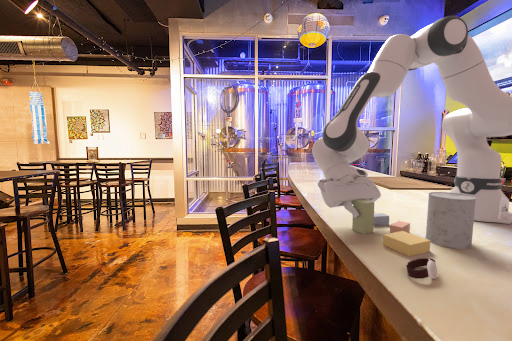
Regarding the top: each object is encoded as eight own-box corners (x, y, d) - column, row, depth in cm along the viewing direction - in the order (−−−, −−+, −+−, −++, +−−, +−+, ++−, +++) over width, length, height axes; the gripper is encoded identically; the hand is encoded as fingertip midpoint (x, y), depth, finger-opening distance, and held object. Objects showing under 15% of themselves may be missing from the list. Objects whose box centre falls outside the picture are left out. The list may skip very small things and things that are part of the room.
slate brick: (382, 222, 79) (382, 213, 79) (388, 224, 76) (389, 215, 76) (366, 223, 78) (366, 214, 78) (372, 226, 75) (372, 216, 75)
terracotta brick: (398, 230, 71) (398, 220, 71) (409, 233, 69) (410, 223, 68) (389, 235, 67) (390, 224, 67) (401, 238, 65) (401, 227, 65)
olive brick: (361, 227, 73) (363, 199, 72) (373, 232, 69) (374, 201, 68) (352, 229, 71) (353, 200, 70) (363, 234, 67) (364, 203, 67)
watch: (428, 286, 42) (429, 267, 42) (399, 275, 46) (400, 257, 46) (442, 273, 47) (443, 255, 47) (415, 263, 51) (416, 247, 50)
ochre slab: (402, 241, 63) (402, 230, 63) (429, 252, 56) (430, 240, 56) (382, 245, 60) (383, 234, 60) (409, 257, 54) (410, 244, 54)
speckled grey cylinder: (482, 250, 57) (486, 200, 55) (437, 247, 59) (440, 198, 57) (456, 236, 66) (460, 192, 65) (418, 233, 68) (421, 191, 67)
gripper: (320, 173, 70) (344, 214, 63) (369, 170, 79) (395, 205, 71) (311, 186, 75) (331, 225, 67) (358, 182, 83) (381, 216, 75)
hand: (365, 215), depth 69 cm, fingers closed on olive brick, 4 cm apart
